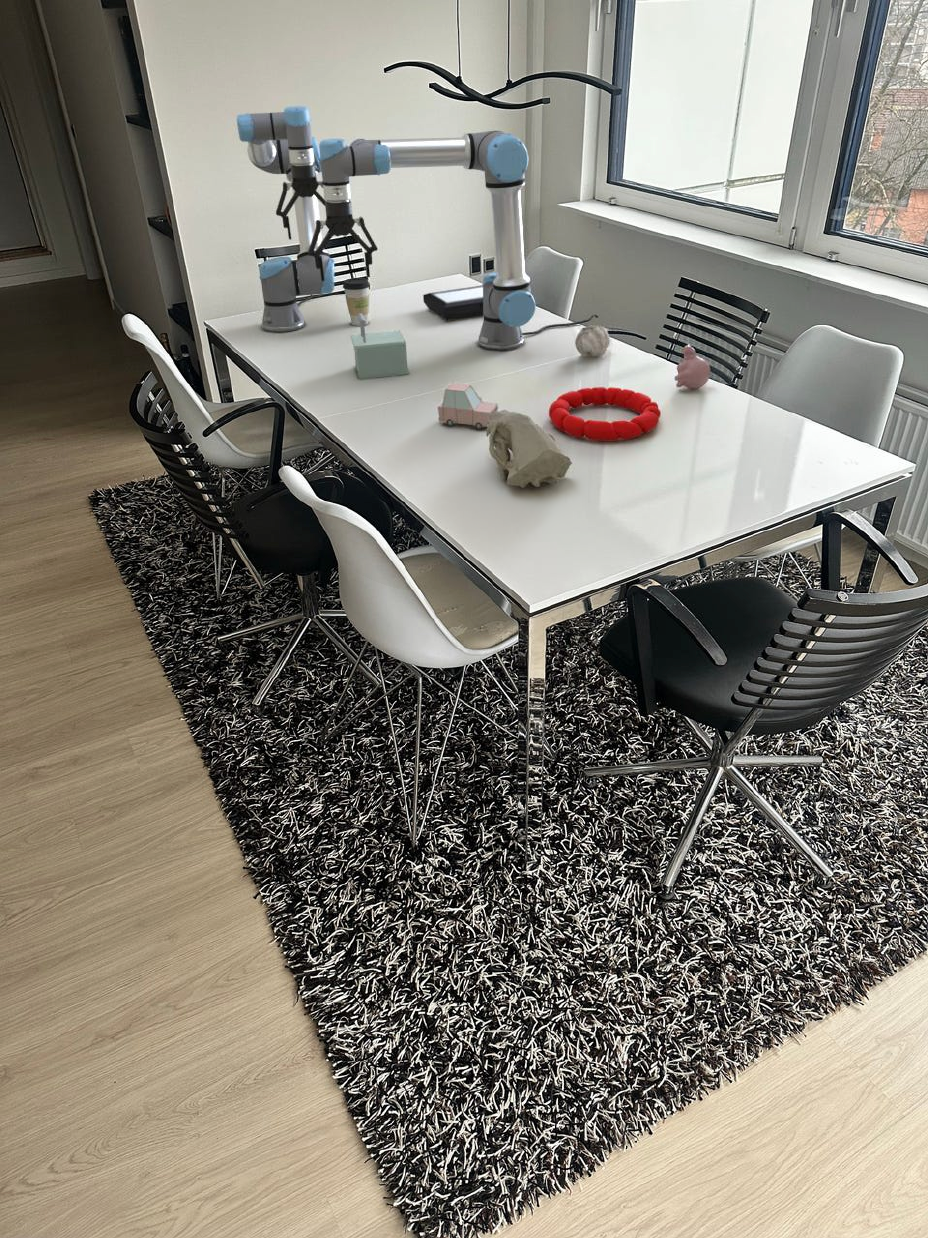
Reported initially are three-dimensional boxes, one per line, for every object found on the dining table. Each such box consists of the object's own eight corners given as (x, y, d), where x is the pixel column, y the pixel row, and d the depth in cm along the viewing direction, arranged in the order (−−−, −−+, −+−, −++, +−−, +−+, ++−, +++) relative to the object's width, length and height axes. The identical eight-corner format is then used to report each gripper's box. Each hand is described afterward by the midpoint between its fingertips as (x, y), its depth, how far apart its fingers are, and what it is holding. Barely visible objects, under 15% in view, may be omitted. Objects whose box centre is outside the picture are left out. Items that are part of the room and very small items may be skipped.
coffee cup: (372, 326, 323) (368, 283, 314) (345, 327, 323) (340, 284, 315) (374, 318, 331) (371, 276, 322) (348, 319, 331) (344, 277, 323)
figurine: (665, 387, 264) (669, 347, 257) (693, 380, 268) (698, 340, 261) (686, 396, 257) (690, 355, 250) (714, 388, 262) (720, 348, 255)
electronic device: (443, 305, 321) (423, 292, 336) (444, 322, 324) (424, 309, 339) (522, 293, 331) (499, 281, 346) (522, 310, 334) (499, 297, 350)
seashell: (565, 355, 290) (566, 324, 284) (602, 347, 296) (604, 317, 290) (583, 364, 283) (584, 332, 277) (621, 355, 288) (623, 324, 283)
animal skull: (496, 517, 219) (521, 479, 201) (463, 429, 225) (484, 384, 207) (557, 503, 225) (586, 465, 206) (523, 417, 231) (549, 373, 212)
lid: (354, 349, 272) (352, 322, 268) (351, 338, 282) (348, 312, 277) (405, 344, 275) (404, 317, 270) (400, 333, 284) (398, 307, 280)
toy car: (488, 432, 240) (488, 396, 234) (436, 426, 244) (434, 390, 239) (499, 419, 247) (499, 384, 241) (448, 413, 252) (447, 379, 246)
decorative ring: (589, 435, 224) (684, 402, 234) (527, 398, 247) (617, 369, 256) (589, 461, 229) (683, 427, 238) (529, 422, 251) (617, 393, 260)
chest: (359, 379, 278) (356, 349, 273) (355, 367, 287) (352, 337, 282) (407, 374, 280) (405, 344, 275) (402, 362, 290) (400, 333, 284)
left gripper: (262, 167, 271) (272, 242, 283) (343, 163, 275) (350, 236, 287) (261, 164, 277) (271, 237, 289) (341, 159, 281) (348, 231, 293)
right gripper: (294, 205, 249) (304, 284, 261) (382, 199, 253) (388, 277, 265) (293, 201, 255) (302, 278, 267) (379, 195, 259) (385, 271, 271)
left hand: (311, 237), depth 288 cm, fingers open, 13 cm apart
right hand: (345, 277), depth 266 cm, fingers open, 13 cm apart
